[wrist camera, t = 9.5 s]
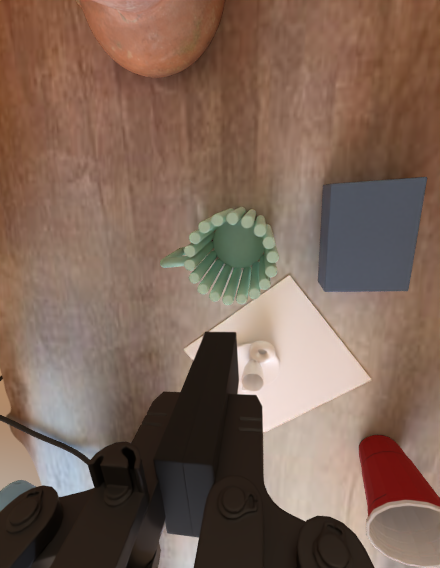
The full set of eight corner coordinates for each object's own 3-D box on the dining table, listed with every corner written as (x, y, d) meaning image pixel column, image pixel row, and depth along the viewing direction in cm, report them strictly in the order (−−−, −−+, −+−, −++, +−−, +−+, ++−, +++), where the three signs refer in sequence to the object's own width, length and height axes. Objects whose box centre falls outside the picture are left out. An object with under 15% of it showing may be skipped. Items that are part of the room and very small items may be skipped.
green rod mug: (254, 265, 40) (156, 290, 34) (248, 204, 37) (141, 221, 31) (329, 285, 27) (196, 331, 21) (329, 197, 25) (176, 222, 19)
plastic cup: (347, 416, 41) (379, 500, 29) (423, 427, 39) (487, 520, 28) (334, 466, 44) (359, 559, 33) (403, 478, 43) (454, 579, 32)
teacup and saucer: (262, 329, 38) (262, 343, 34) (294, 367, 39) (298, 386, 35) (216, 358, 41) (212, 375, 37) (248, 393, 42) (247, 413, 38)
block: (317, 281, 35) (324, 292, 31) (322, 185, 31) (331, 183, 27) (392, 280, 33) (408, 291, 30) (406, 179, 30) (427, 176, 26)
